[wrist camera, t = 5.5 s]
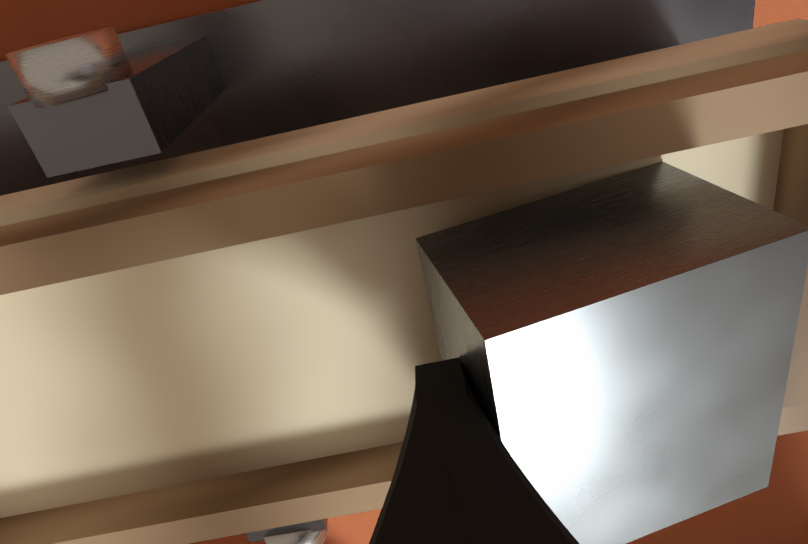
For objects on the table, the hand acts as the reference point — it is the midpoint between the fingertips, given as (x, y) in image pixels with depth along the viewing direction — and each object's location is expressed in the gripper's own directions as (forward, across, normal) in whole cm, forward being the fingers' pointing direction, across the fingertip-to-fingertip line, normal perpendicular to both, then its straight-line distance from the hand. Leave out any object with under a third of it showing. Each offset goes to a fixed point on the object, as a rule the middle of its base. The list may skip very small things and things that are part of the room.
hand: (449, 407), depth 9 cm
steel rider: (+2, -2, 0) cm, 3 cm away
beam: (+3, +5, 0) cm, 6 cm away
